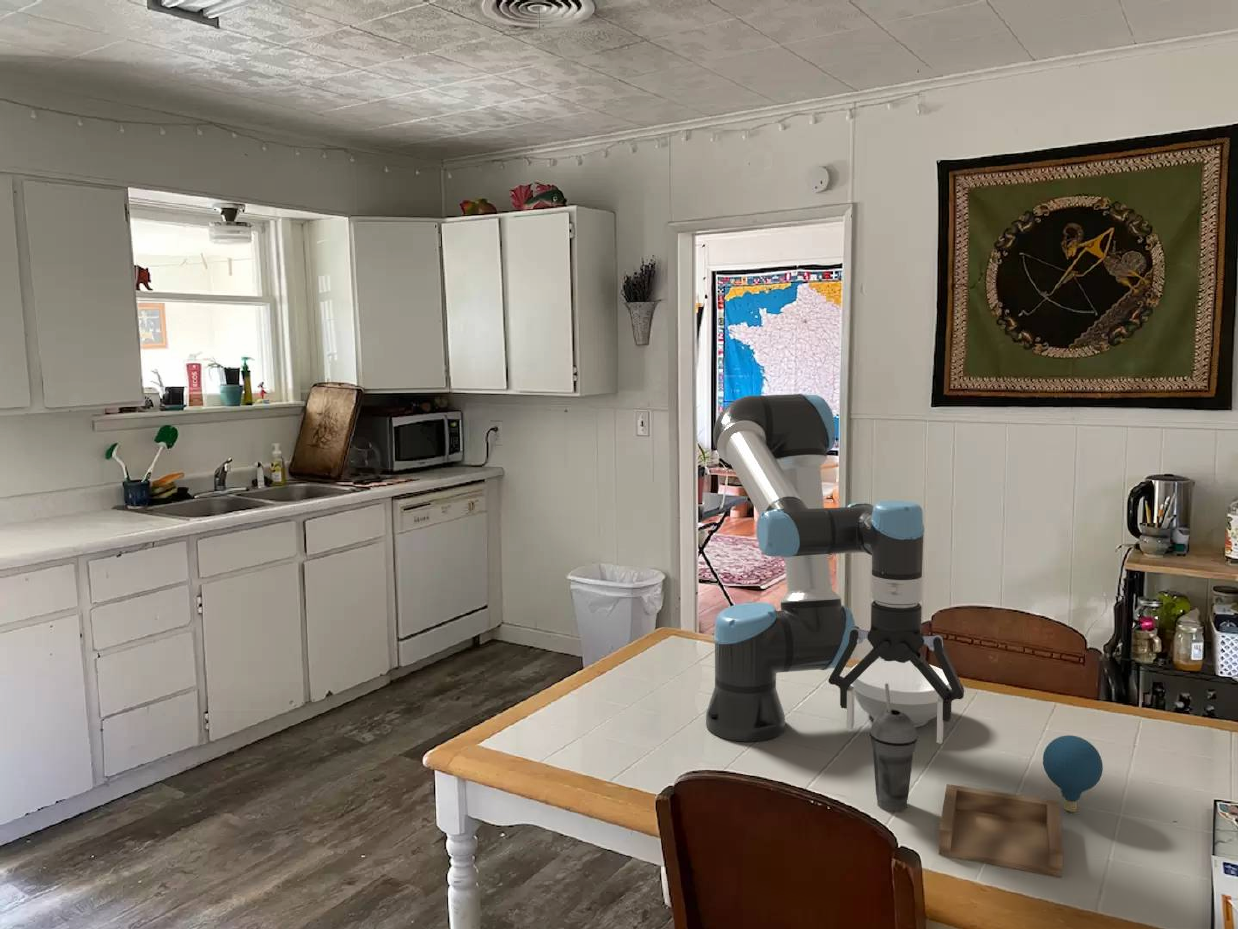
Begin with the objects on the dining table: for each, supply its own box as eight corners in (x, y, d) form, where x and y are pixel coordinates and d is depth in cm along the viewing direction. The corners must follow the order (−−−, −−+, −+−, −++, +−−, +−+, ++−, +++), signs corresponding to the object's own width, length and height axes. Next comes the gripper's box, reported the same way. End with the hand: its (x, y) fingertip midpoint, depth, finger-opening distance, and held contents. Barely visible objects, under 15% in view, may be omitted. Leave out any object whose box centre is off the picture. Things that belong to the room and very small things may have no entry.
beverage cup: (918, 818, 145) (921, 694, 142) (869, 814, 146) (871, 691, 144) (913, 796, 152) (916, 677, 149) (866, 792, 153) (869, 675, 151)
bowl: (843, 729, 179) (843, 685, 178) (857, 694, 196) (857, 654, 195) (947, 743, 172) (948, 697, 171) (952, 706, 189) (953, 664, 188)
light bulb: (1030, 799, 150) (1033, 728, 148) (1080, 797, 151) (1083, 725, 149) (1059, 826, 142) (1062, 750, 140) (1112, 823, 142) (1116, 747, 141)
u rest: (938, 854, 134) (939, 829, 134) (946, 806, 148) (946, 784, 148) (1061, 877, 128) (1062, 851, 128) (1057, 825, 142) (1058, 801, 141)
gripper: (810, 601, 146) (810, 731, 149) (981, 615, 136) (978, 754, 139) (820, 589, 153) (819, 714, 155) (983, 602, 143) (980, 735, 146)
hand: (894, 734), depth 147 cm, fingers open, 13 cm apart
